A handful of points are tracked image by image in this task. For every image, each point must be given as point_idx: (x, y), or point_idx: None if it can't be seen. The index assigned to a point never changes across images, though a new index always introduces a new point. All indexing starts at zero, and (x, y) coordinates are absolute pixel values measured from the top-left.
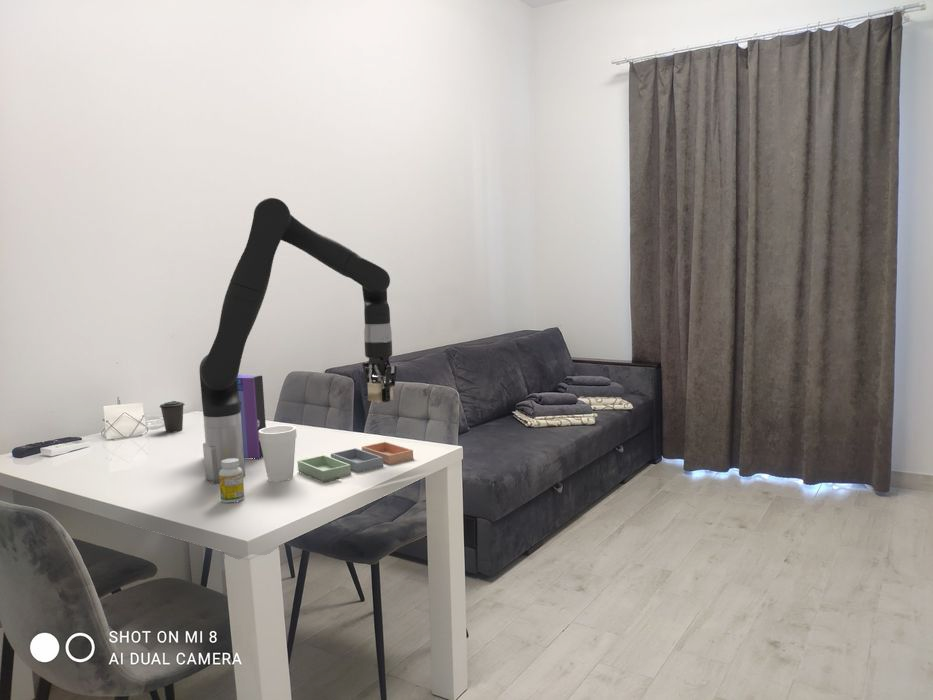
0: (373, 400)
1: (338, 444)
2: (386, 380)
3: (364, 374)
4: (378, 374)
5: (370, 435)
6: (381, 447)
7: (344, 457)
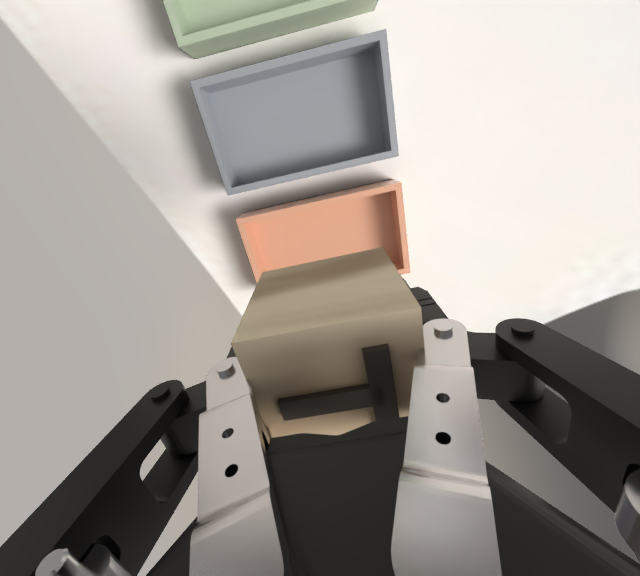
0: (314, 264)
1: (603, 165)
2: (131, 434)
3: (625, 373)
4: (222, 454)
5: (608, 292)
6: (399, 252)
7: (381, 102)
